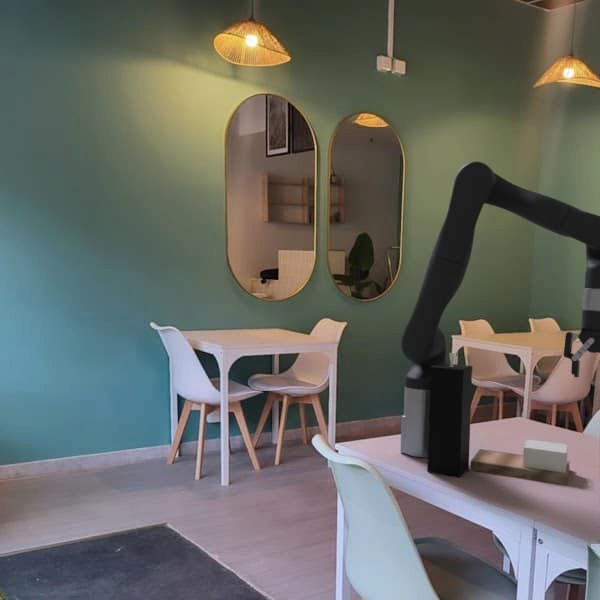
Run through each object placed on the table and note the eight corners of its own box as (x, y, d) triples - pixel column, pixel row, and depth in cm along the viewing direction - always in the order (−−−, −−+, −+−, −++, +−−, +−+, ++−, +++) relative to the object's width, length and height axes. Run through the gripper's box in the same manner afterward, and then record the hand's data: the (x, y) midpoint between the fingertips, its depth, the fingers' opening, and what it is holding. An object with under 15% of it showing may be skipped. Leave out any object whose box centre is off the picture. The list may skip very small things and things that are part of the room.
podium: (470, 469, 141) (470, 461, 141) (479, 456, 152) (479, 448, 152) (567, 484, 132) (567, 475, 132) (569, 469, 143) (569, 461, 143)
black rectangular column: (469, 469, 142) (473, 352, 141) (460, 478, 135) (464, 355, 134) (437, 463, 146) (440, 349, 145) (426, 471, 139) (430, 352, 138)
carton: (523, 466, 138) (523, 447, 138) (526, 457, 145) (527, 439, 145) (565, 472, 134) (566, 453, 134) (566, 463, 141) (567, 444, 141)
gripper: (563, 307, 137) (560, 377, 137) (634, 311, 128) (630, 385, 129) (570, 306, 143) (566, 373, 143) (637, 310, 135) (633, 381, 135)
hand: (596, 379), depth 136 cm, fingers open, 8 cm apart
